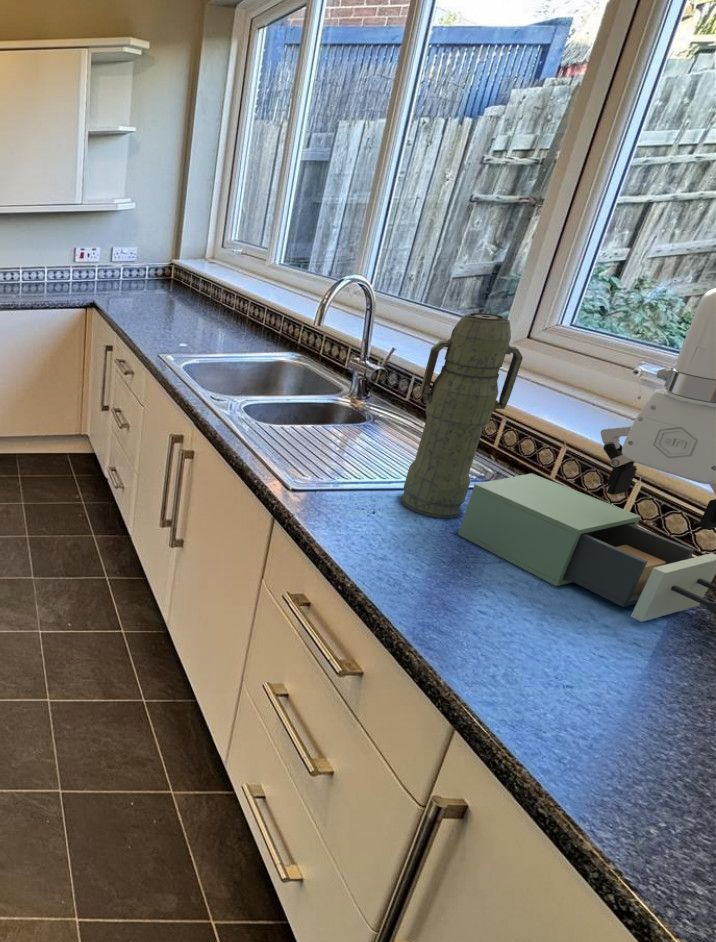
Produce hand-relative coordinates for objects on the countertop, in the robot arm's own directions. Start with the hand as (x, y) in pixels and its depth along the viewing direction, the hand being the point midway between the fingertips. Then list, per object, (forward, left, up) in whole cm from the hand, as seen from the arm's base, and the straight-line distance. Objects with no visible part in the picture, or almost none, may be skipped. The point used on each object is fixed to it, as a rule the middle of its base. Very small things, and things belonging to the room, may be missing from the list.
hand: (660, 508), depth 83 cm
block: (0, 0, -12) cm, 12 cm away
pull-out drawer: (-1, 0, -13) cm, 13 cm away
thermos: (+27, +2, -14) cm, 31 cm away
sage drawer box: (+11, 0, -14) cm, 18 cm away
